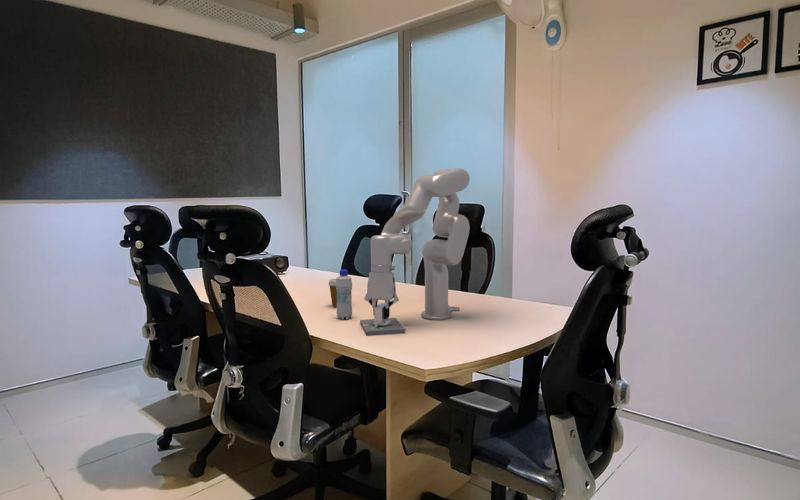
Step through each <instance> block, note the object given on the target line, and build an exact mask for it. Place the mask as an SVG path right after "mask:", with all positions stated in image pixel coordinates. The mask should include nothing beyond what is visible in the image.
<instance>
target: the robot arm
mask: <svg viewBox="0 0 800 500" xmlns="http://www.w3.org/2000/svg"><path fill="white" fill-rule="evenodd" d="M469 185H470V174H469V173H468V171H467V170H465V169H463V168H449V169H448V168H446V169H445V168H444V169H439V170H436V171H435V172H434V173H433V174H428V175H425V174H424V175H422V176H419V177H418V178H417V179H416V180H415V182H414V184H413V186H412V188H411V190H410V192H409V194H408V196H407V199H406V200H405V202H404V204H403V206H402V207H401V208H400V209H399V210H397V212H395V213H394V214H393V216H391V218H389V220H387V222H386V223H385V225H384V227H383V229H382V231H381V233H380V235H379V234H378V235H377V234H376V235H373V236H372V237H371V238H370V272H369V273H368V280H367V284H366V285H367V286H366V291H367V292H366V293H365V296H364V298H363V299H364V301H366V302H368V303H369V304H370V305H371V308H373V309H372V311H373V313H372V315H373V316H374V307H376V306H377V305H379V300H380V301H384V303H385V309H384V319H387V318H388V317H389V318H390V311H391V309H390V307H392V306H393V305H394V304H395V303H398V302H399V301H400V299H399V297H398V295H397V288H396V287H397V286H396V280H395V279H396V277H395V273H394V272H393V271H395V270H396V266H393V264H392V255H406V254H407V253H410V252H411V250H412V248H413V241H412V239H411V238H410V236H408V235H406V234H401V232H402V231H403V229H404V228H406V227H407V226H409V225H410V224H413V223H415V222H417V221H419V220H420V219H422V218H423V217H424V215H425V213H426V211H427V209H428V206H429V205H430V204H431V203H430V202H431V200H432V199H433V198H438V205H437V208H436V212H435V216H434V220H433V223H432V232H433V234H434V235H435V236H437V237H440V238H441V237H442V238H447V240H446V239H437V238H436V239H433V238H432V239H429V240H428V241H426V242H425V243H424V244H423V247H422V258H423V259H422V260H423V263H424V311H423V312H421V313H420V317H421V318H423V319H425V320H430V321H431V320H432V321H441V320H442V321H443V320H449V319H451V318H452V317H453V314H452V313H453V312H460V309H461V308H460V306H453V305H452V306H450V305H449V270H448V266H455V265H458V264H459V263H460V262H461V261H462V258H463V256H464V255H465V254H464V253H465V249H466V246H467V243H468V238H469V235H470V229H471V228H470V222H469V219H468V218H467V217H466V216H465V215H464V214H463V215H462V214H459V209H460V199H459V196H458V194H457V193H460V192H461V191H464V190H465V189H466V188H467V187H468V186H469ZM447 265H448V266H447Z"/></svg>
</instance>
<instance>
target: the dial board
mask: <svg viewBox="0 0 800 500" xmlns="http://www.w3.org/2000/svg"><path fill="white" fill-rule="evenodd" d="M373 320H374V318H367V319H360V320H359V324H360V326H361V328H362V330H363V332H364V334H365V336H381V335H383V336H384V335H395V334H396V335H397V334H406V328H405V327H404V326H403V325H402V323H401V322H400V321H399V320H398V319H397V318H396V317H389V320H391V325H388V326H378V327H375V325H373V324H372V321H373Z"/></svg>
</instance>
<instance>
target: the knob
mask: <svg viewBox="0 0 800 500" xmlns="http://www.w3.org/2000/svg"><path fill="white" fill-rule="evenodd" d="M384 309H385V302H380V303H378V304H377V306H376V307H374V315H373V319H374V320H373V321H372V324H373V325H375V327H378V326H388V325H391V320H389V318H390V316H389V317H388V318H387V319H384Z"/></svg>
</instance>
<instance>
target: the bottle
mask: <svg viewBox="0 0 800 500" xmlns="http://www.w3.org/2000/svg"><path fill="white" fill-rule="evenodd" d="M335 279H336V290H337V308H336V316H337V318H338V319H339V320H344V319H346V320H348V319H351V318H352V317H353V316H352V315H353V305H352V296H353V295H352V289H353V282H352V281H353V280H352V276H350V275H349V271H348V269H340V270H339V276H337V277H336V278H335Z"/></svg>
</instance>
